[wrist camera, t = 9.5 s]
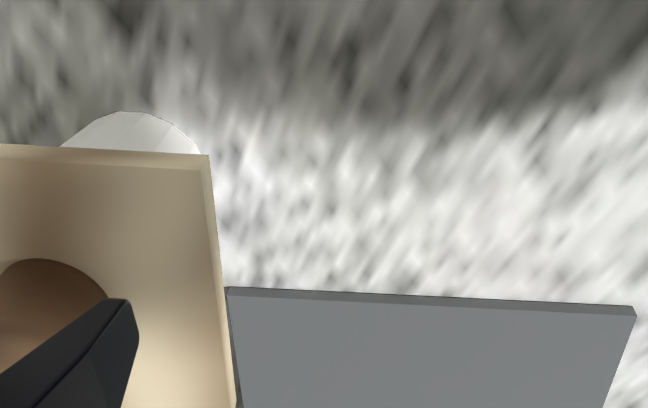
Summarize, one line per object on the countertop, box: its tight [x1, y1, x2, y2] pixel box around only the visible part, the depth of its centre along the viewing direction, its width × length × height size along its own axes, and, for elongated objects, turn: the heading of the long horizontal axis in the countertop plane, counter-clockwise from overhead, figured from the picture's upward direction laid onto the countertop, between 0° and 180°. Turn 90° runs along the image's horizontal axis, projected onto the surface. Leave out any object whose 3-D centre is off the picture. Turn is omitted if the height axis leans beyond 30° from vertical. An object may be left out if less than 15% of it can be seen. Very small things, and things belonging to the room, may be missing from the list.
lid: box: [0, 143, 237, 408], centre depth 16 cm, size 10×10×6 cm
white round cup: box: [59, 111, 200, 154], centre depth 21 cm, size 7×7×7 cm
